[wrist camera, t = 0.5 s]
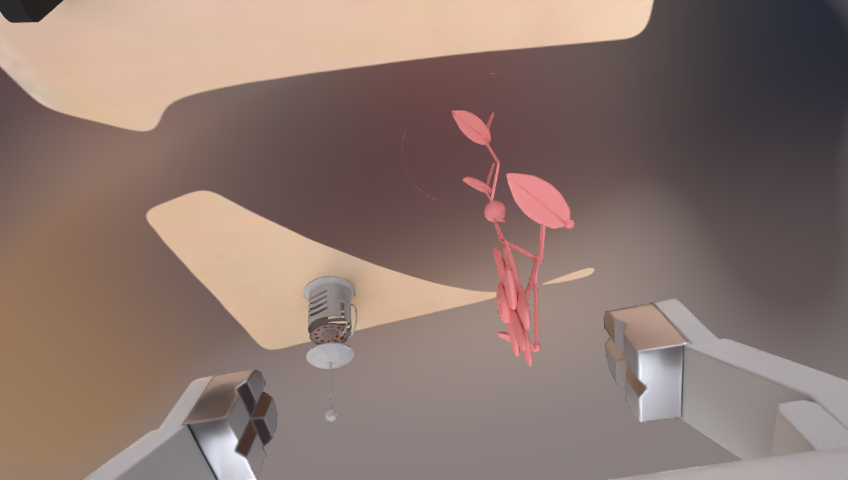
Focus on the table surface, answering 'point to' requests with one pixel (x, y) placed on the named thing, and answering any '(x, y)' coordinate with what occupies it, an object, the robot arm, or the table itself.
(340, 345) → the french press
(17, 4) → the nameplate
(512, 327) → the figurine
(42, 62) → the table surface
